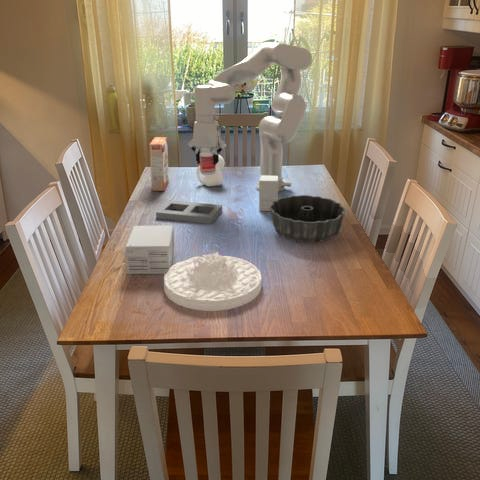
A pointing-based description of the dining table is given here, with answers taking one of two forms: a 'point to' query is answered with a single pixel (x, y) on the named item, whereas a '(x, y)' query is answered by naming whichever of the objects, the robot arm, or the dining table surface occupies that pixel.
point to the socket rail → (189, 212)
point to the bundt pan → (306, 218)
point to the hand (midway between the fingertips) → (207, 162)
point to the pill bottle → (207, 161)
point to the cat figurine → (213, 175)
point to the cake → (212, 282)
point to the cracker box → (159, 163)
